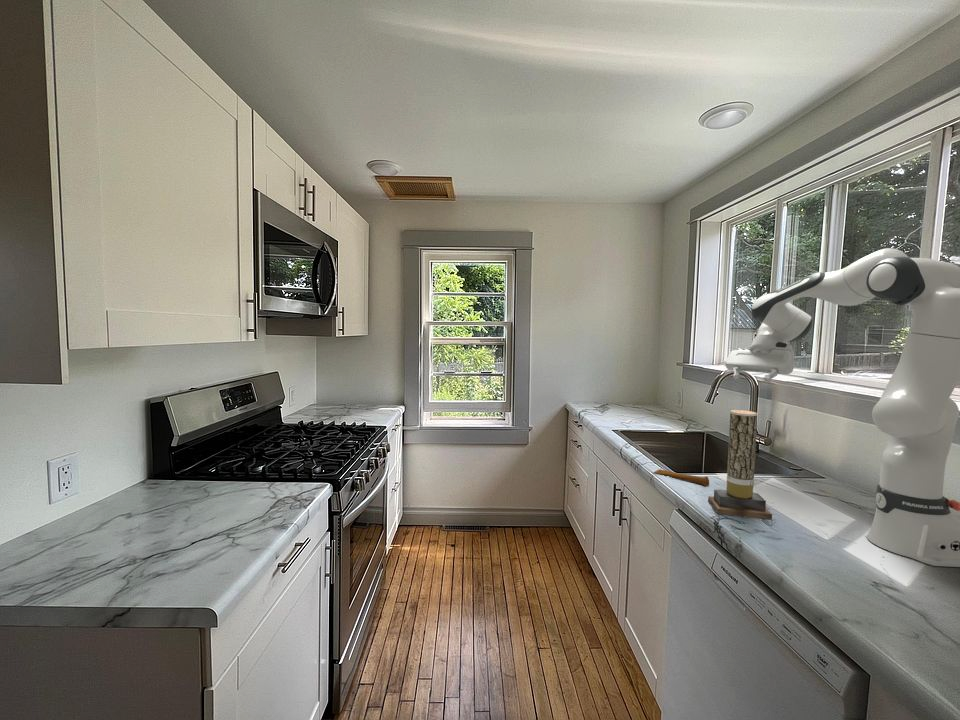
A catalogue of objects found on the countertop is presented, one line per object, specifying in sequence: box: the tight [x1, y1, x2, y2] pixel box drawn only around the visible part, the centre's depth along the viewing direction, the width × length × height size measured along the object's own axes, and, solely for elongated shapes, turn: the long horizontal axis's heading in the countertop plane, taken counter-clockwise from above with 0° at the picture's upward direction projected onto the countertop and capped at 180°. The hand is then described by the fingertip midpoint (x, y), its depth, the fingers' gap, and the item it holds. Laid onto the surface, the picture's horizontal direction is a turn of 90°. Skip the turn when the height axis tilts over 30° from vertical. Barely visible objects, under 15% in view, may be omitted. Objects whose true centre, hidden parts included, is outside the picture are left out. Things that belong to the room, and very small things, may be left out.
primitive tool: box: [652, 469, 710, 487], centre depth 156 cm, size 19×6×4 cm, turn 41°
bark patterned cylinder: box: [726, 409, 758, 499], centre depth 127 cm, size 7×7×25 cm
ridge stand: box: [707, 489, 773, 520], centre depth 128 cm, size 14×10×4 cm
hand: (750, 379), depth 145 cm, fingers open, 8 cm apart
